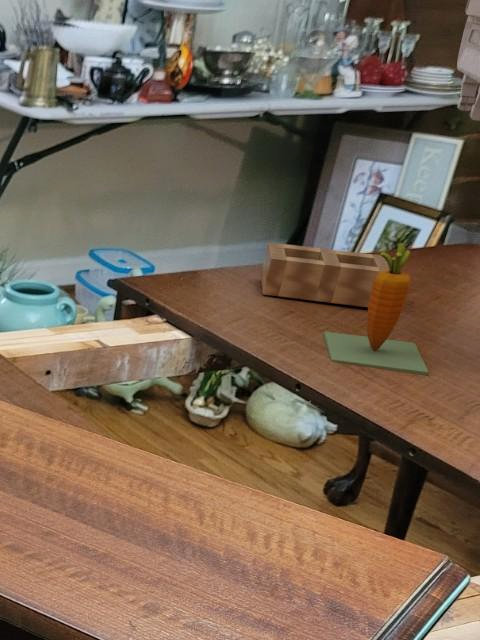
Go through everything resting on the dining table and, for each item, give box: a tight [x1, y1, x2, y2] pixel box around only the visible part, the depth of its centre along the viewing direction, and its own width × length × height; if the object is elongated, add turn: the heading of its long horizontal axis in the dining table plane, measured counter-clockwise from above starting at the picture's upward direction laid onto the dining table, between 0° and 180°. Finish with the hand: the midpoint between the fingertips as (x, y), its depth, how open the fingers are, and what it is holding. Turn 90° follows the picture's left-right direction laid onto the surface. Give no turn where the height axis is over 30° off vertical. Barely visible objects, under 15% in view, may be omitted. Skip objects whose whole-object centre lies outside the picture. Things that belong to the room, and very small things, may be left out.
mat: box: [322, 330, 430, 376], centre depth 160 cm, size 13×13×1 cm
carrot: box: [366, 242, 412, 351], centre depth 155 cm, size 5×5×15 cm
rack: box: [260, 242, 389, 308], centre depth 185 cm, size 20×11×6 cm, turn 75°
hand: (469, 114), depth 154 cm, fingers open, 8 cm apart
